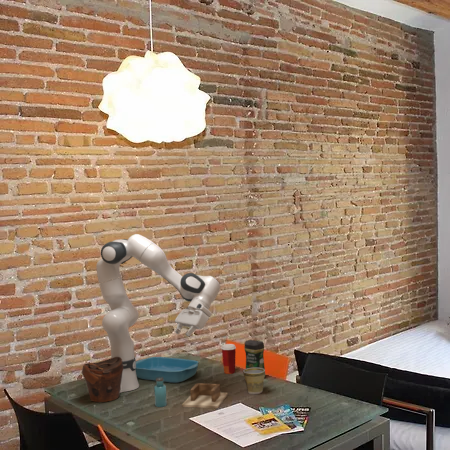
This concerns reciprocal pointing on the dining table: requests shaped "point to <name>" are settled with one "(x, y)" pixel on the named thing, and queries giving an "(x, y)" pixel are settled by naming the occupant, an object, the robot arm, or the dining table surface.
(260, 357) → the coffee jar
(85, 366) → the case
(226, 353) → the paper cup
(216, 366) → the dining table surface
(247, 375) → the ceramic cup
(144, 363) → the casserole dish
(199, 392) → the bottle stand
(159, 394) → the teal bottle
